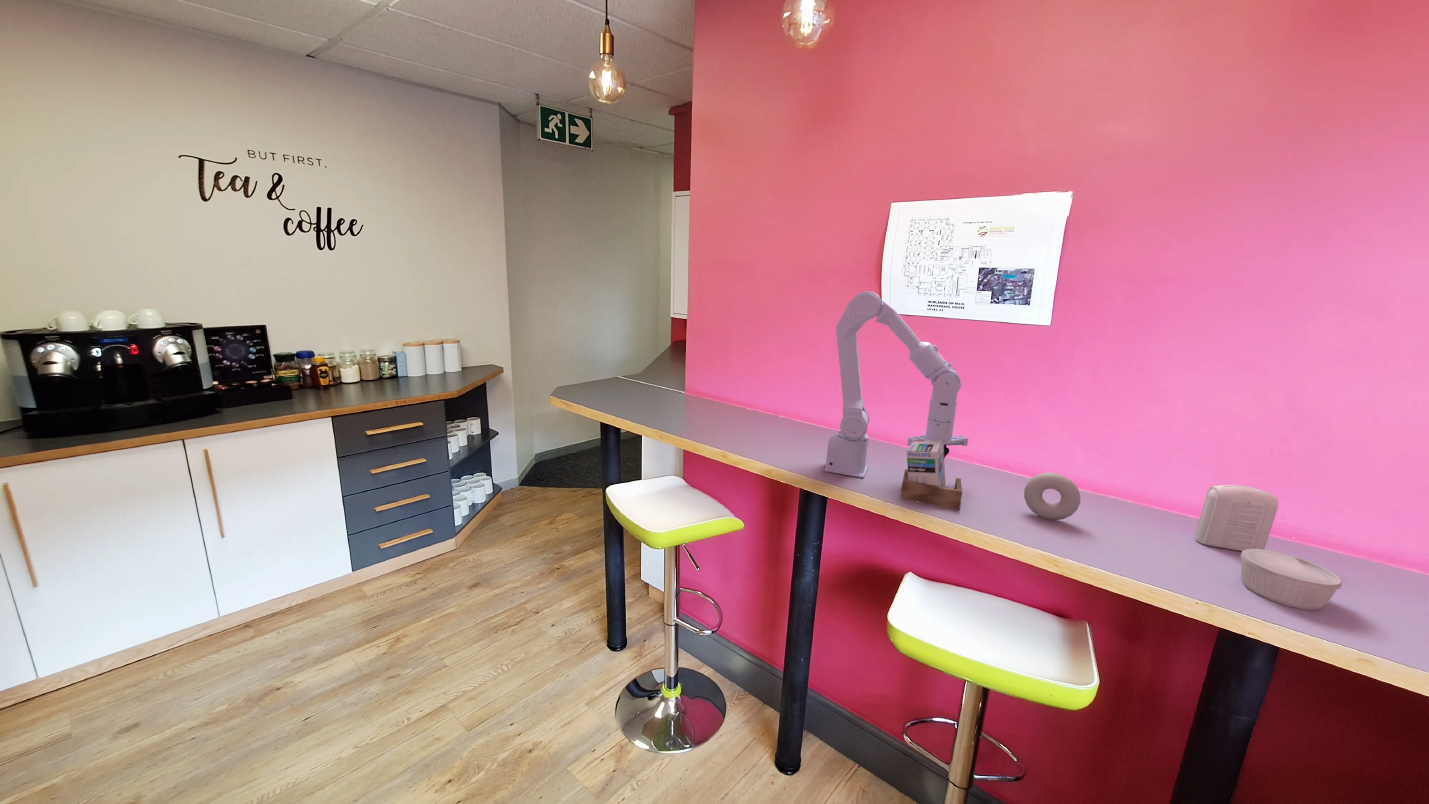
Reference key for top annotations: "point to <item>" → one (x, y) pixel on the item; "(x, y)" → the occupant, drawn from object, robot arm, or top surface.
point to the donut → (1059, 483)
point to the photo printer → (1236, 517)
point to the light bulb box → (926, 462)
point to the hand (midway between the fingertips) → (933, 474)
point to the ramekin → (1288, 579)
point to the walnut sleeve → (932, 493)
